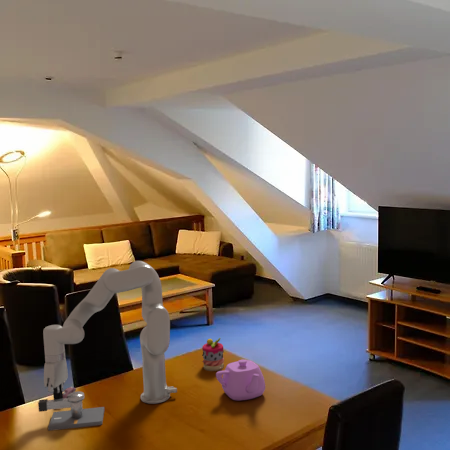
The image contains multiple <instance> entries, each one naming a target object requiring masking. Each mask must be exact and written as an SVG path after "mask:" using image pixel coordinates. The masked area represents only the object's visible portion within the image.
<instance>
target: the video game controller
mask: <svg viewBox="0 0 450 450" xmlns="http://www.w3.org/2000/svg"><path fill="white" fill-rule="evenodd" d="M76 390H77V388H76V387H74V386H70V387H67V388H66V389H64V391H63V399H65V398H67V396H68V394H70V393H72V392H77V391H76Z"/></svg>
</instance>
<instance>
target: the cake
mask: <svg viewBox="0 0 450 450" xmlns="http://www.w3.org/2000/svg"><path fill="white" fill-rule="evenodd" d="M220 341H221V337H219V338H218V339H216V340H215V341H214V340H213V339H212V338H208V339H207V340H206V343H205V344H203V345H202V358H203V361H201V362H202V363H203V369H204V371H208V372H216V371H217V372H218V371H222V370H223V368H224V362H225V358H224V353H225V352H224V345H223V344H222V343H220Z"/></svg>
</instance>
